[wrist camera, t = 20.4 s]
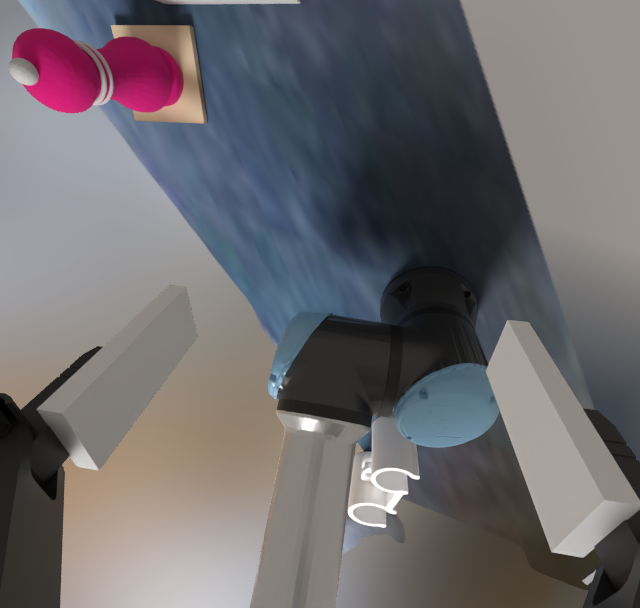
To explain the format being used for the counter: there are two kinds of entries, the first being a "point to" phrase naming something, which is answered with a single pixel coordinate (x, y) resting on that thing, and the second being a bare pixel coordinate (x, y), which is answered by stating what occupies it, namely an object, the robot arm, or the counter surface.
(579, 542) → the robot arm
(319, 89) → the counter surface
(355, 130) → the counter surface
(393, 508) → the bracket
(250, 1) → the grey open box
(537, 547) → the counter surface
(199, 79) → the cork mat
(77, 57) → the pepper mill
